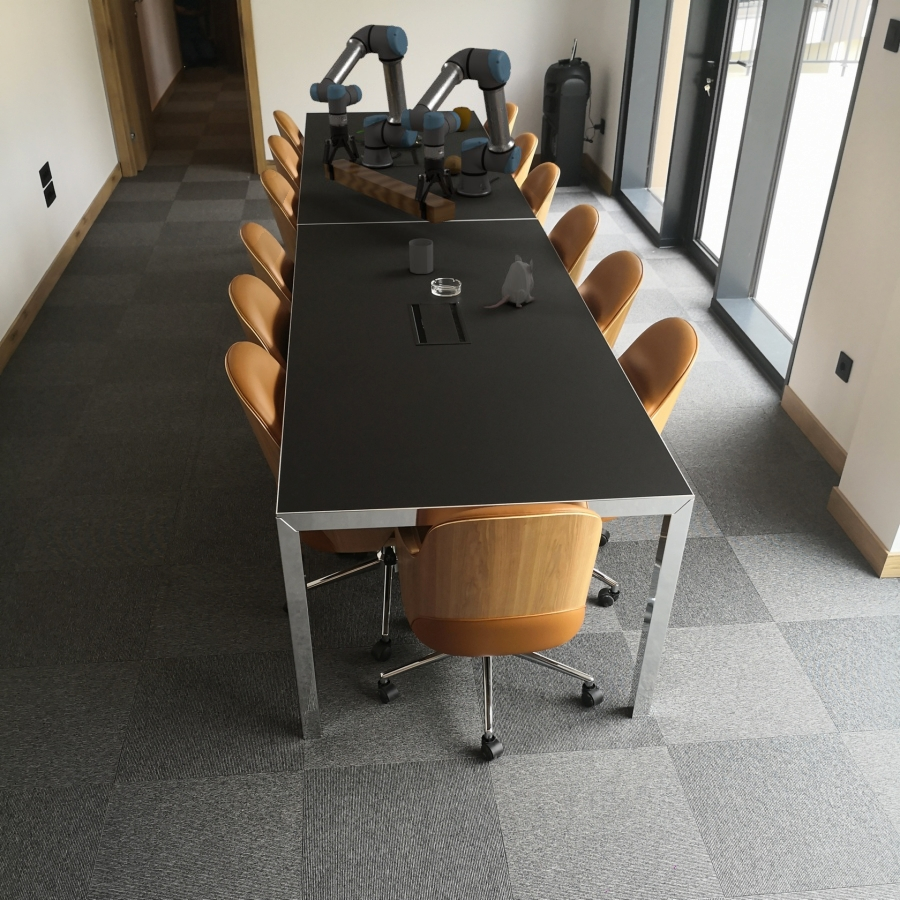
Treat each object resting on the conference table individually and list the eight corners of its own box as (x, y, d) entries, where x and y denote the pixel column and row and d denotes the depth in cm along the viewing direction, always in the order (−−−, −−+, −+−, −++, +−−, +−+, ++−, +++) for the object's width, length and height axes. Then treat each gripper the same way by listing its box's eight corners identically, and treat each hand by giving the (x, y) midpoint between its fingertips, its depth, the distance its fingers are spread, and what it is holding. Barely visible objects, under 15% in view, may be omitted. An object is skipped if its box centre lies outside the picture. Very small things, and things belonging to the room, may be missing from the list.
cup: (409, 265, 311) (408, 238, 306) (432, 265, 312) (431, 238, 307) (410, 274, 304) (409, 246, 299) (433, 273, 305) (433, 246, 299)
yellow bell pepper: (471, 132, 486) (471, 108, 479) (451, 132, 486) (451, 108, 479) (470, 128, 495) (471, 104, 488) (452, 128, 495) (452, 104, 488)
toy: (541, 300, 285) (543, 256, 277) (494, 322, 270) (495, 276, 262) (519, 293, 290) (521, 249, 282) (472, 313, 276) (473, 269, 268)
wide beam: (325, 177, 380) (324, 162, 376) (344, 173, 385) (343, 158, 381) (434, 224, 327) (434, 207, 323) (454, 219, 332) (454, 202, 328)
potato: (462, 169, 421) (462, 152, 416) (464, 177, 409) (465, 160, 405) (442, 169, 420) (442, 152, 416) (444, 177, 408) (444, 160, 404)
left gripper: (320, 129, 358) (324, 184, 370) (365, 122, 369) (368, 175, 381) (311, 126, 363) (315, 180, 375) (356, 119, 374) (359, 171, 386)
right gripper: (415, 164, 313) (416, 224, 325) (464, 154, 324) (463, 213, 336) (403, 159, 318) (405, 219, 330) (451, 150, 329) (452, 208, 341)
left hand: (342, 177), depth 378 cm, fingers closed on wide beam, 10 cm apart
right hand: (434, 216), depth 333 cm, fingers closed on wide beam, 10 cm apart
